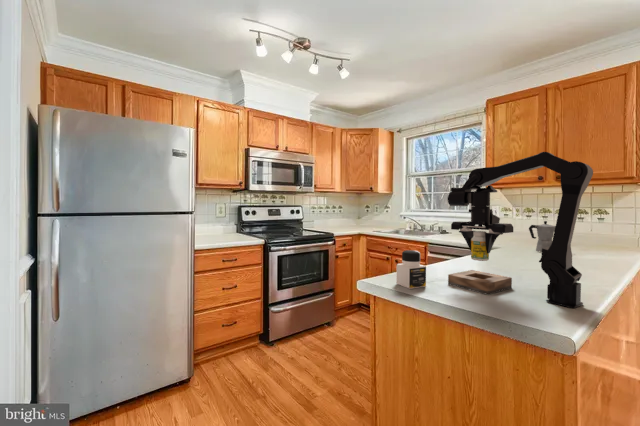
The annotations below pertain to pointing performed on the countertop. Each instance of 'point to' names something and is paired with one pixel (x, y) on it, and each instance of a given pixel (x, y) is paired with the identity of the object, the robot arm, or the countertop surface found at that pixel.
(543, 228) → the coffeepot
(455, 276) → the socket block
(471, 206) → the robot arm
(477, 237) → the supplement bottle
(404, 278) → the medicine bottle
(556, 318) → the countertop surface
